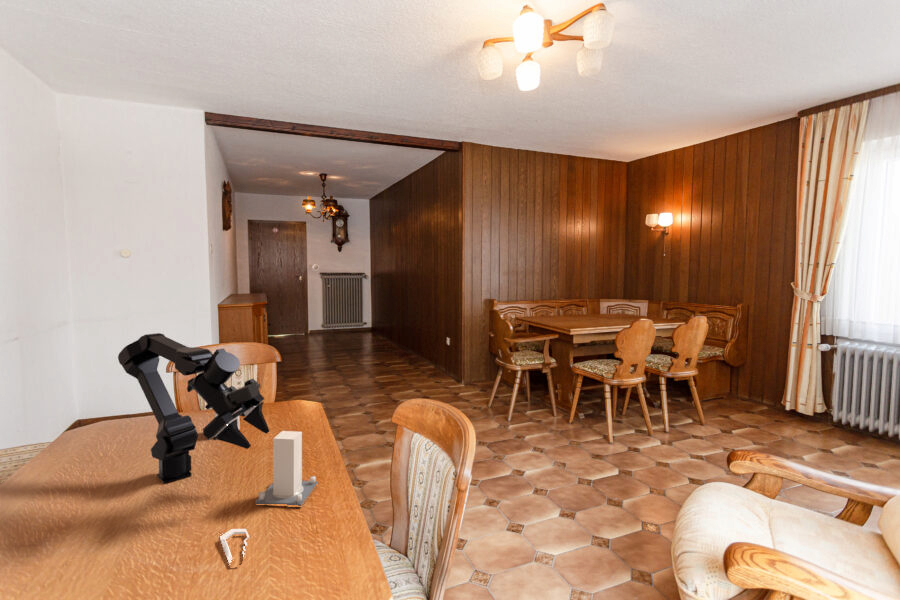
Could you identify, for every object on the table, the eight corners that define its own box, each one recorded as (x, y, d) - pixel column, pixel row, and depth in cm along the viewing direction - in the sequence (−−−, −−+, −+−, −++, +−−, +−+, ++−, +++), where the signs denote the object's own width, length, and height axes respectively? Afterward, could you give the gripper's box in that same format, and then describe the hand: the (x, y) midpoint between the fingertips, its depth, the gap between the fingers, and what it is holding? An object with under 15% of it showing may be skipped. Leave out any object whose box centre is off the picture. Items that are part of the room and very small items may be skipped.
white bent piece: (258, 565, 85) (259, 557, 85) (230, 576, 82) (230, 567, 82) (243, 529, 96) (243, 522, 95) (217, 537, 93) (217, 529, 92)
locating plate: (301, 508, 104) (301, 497, 104) (255, 505, 105) (255, 494, 104) (318, 485, 115) (318, 475, 115) (276, 482, 116) (276, 473, 115)
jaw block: (293, 495, 107) (293, 439, 106) (273, 494, 107) (273, 438, 106) (301, 485, 112) (301, 431, 111) (282, 484, 112) (282, 430, 111)
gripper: (215, 382, 99) (262, 433, 99) (257, 362, 118) (297, 406, 118) (182, 414, 100) (229, 464, 101) (228, 390, 119) (268, 432, 119)
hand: (259, 439), depth 110 cm, fingers open, 9 cm apart
